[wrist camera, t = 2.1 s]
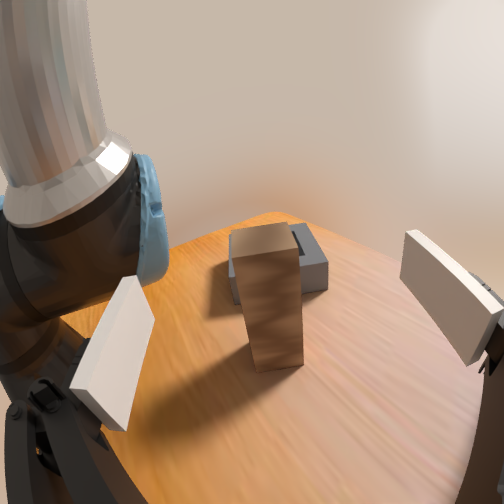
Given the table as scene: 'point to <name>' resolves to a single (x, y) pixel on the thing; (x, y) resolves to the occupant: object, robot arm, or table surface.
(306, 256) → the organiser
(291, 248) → the walnut block
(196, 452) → the table surface
